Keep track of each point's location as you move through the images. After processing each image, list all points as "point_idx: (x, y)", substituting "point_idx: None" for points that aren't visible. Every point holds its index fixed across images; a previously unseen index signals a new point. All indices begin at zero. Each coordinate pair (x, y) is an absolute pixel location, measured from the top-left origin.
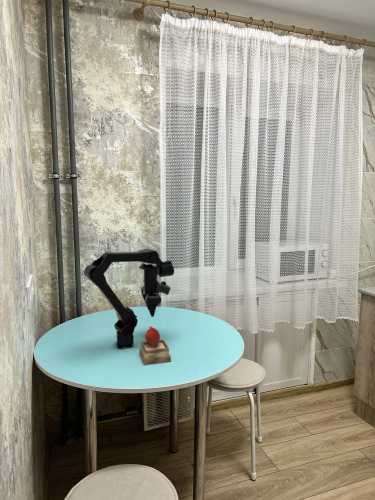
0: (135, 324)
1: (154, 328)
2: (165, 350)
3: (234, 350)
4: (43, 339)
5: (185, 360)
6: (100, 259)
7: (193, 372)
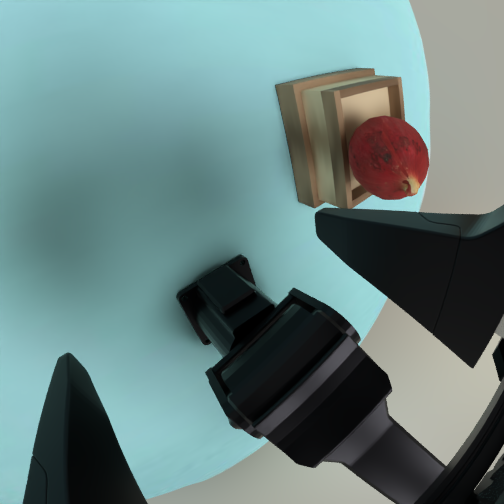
0: (327, 306)
1: (417, 158)
2: (395, 90)
3: None
4: (203, 478)
5: (349, 15)
6: None
7: (399, 19)
